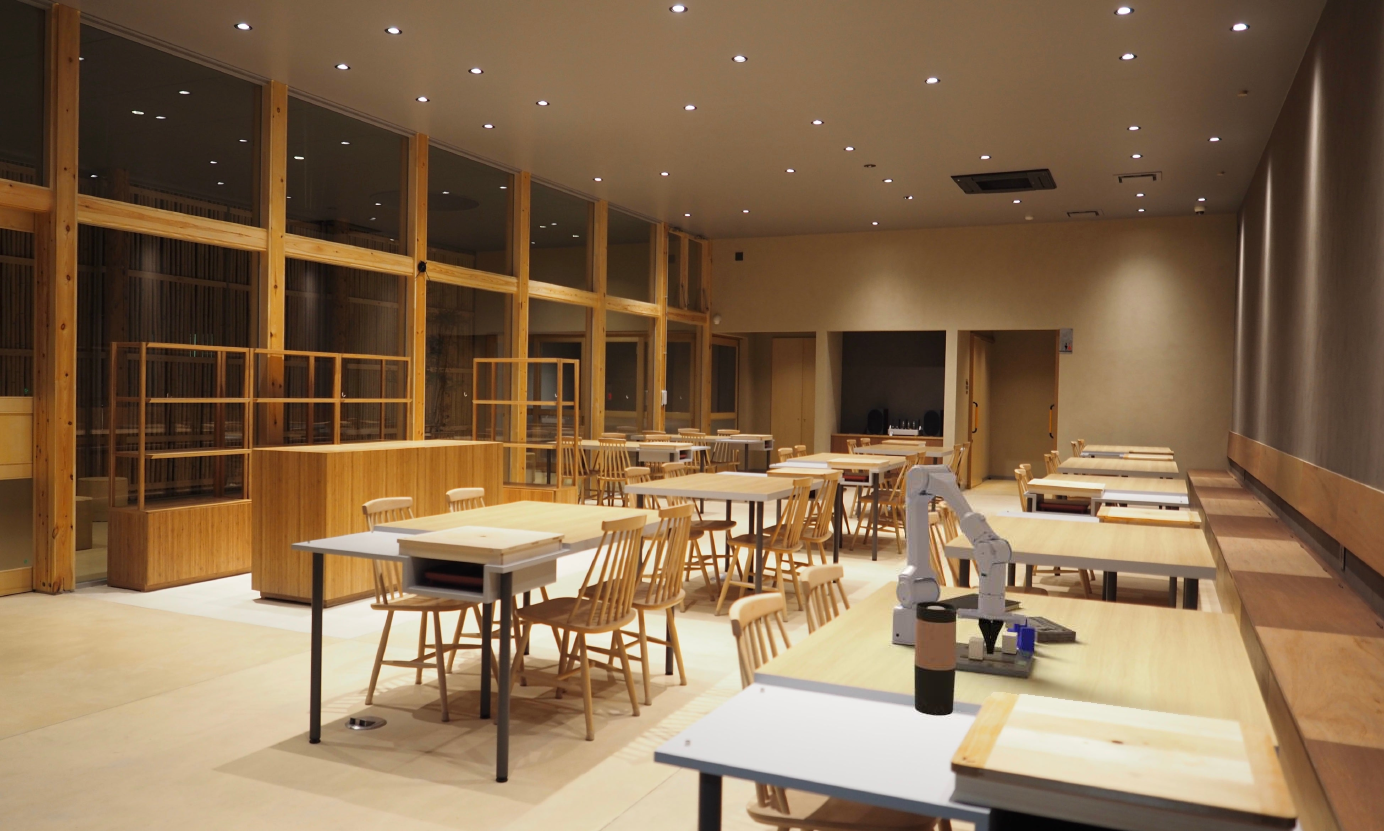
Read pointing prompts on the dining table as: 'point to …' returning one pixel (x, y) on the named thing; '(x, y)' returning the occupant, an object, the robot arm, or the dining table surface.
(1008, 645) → the on breaker
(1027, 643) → the cable clip
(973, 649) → the breaker
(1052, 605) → the dining table surface
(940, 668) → the travel mug
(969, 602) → the hardcover book
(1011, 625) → the grey flat block
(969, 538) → the robot arm
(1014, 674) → the breaker panel
